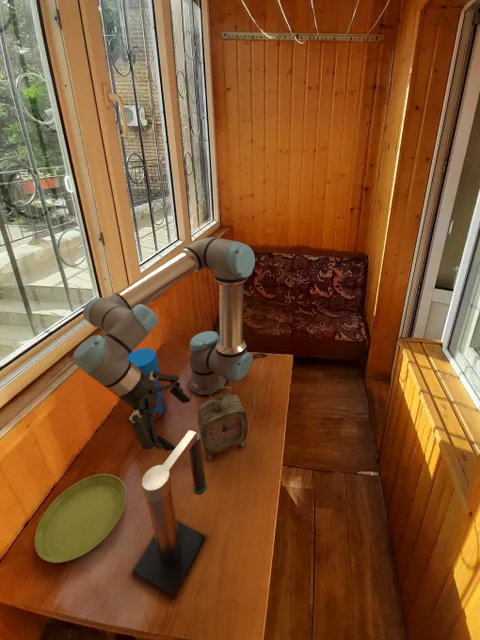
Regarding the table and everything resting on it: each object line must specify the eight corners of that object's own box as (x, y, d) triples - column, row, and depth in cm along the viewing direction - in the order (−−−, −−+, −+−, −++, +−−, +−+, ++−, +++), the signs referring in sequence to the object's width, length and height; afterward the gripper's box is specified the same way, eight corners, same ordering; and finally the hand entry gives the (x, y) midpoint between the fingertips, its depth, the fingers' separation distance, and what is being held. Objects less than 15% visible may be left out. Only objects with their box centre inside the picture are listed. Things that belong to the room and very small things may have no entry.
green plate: (78, 477, 95) (76, 470, 93) (142, 485, 92) (141, 478, 91) (15, 563, 75) (11, 555, 74) (94, 576, 73) (91, 568, 72)
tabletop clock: (205, 466, 98) (198, 405, 90) (200, 442, 106) (193, 384, 97) (248, 448, 104) (246, 389, 96) (240, 427, 112) (237, 371, 103)
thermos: (130, 410, 118) (118, 356, 110) (158, 396, 125) (149, 344, 116) (139, 429, 111) (128, 372, 102) (169, 413, 117) (160, 358, 109)
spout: (169, 559, 71) (156, 494, 64) (150, 549, 73) (135, 484, 66) (212, 485, 87) (206, 425, 80) (195, 478, 89) (188, 419, 81)
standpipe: (174, 599, 70) (160, 529, 61) (133, 574, 73) (114, 506, 65) (205, 539, 80) (197, 472, 72) (167, 520, 84) (155, 455, 76)
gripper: (139, 347, 91) (182, 386, 101) (91, 436, 70) (151, 474, 81) (160, 341, 88) (201, 382, 99) (115, 431, 68) (174, 470, 79)
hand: (179, 423), depth 90 cm, fingers open, 13 cm apart
